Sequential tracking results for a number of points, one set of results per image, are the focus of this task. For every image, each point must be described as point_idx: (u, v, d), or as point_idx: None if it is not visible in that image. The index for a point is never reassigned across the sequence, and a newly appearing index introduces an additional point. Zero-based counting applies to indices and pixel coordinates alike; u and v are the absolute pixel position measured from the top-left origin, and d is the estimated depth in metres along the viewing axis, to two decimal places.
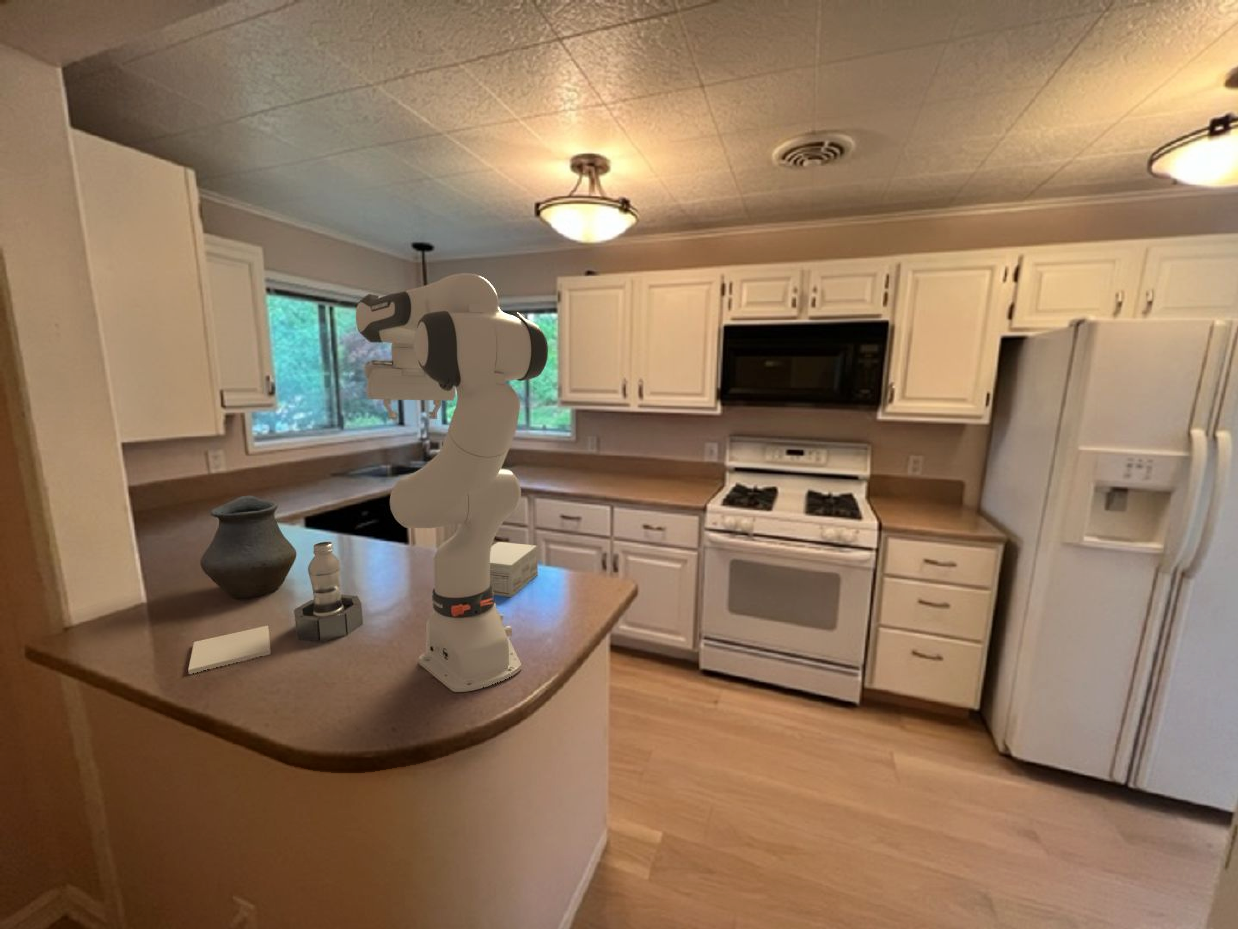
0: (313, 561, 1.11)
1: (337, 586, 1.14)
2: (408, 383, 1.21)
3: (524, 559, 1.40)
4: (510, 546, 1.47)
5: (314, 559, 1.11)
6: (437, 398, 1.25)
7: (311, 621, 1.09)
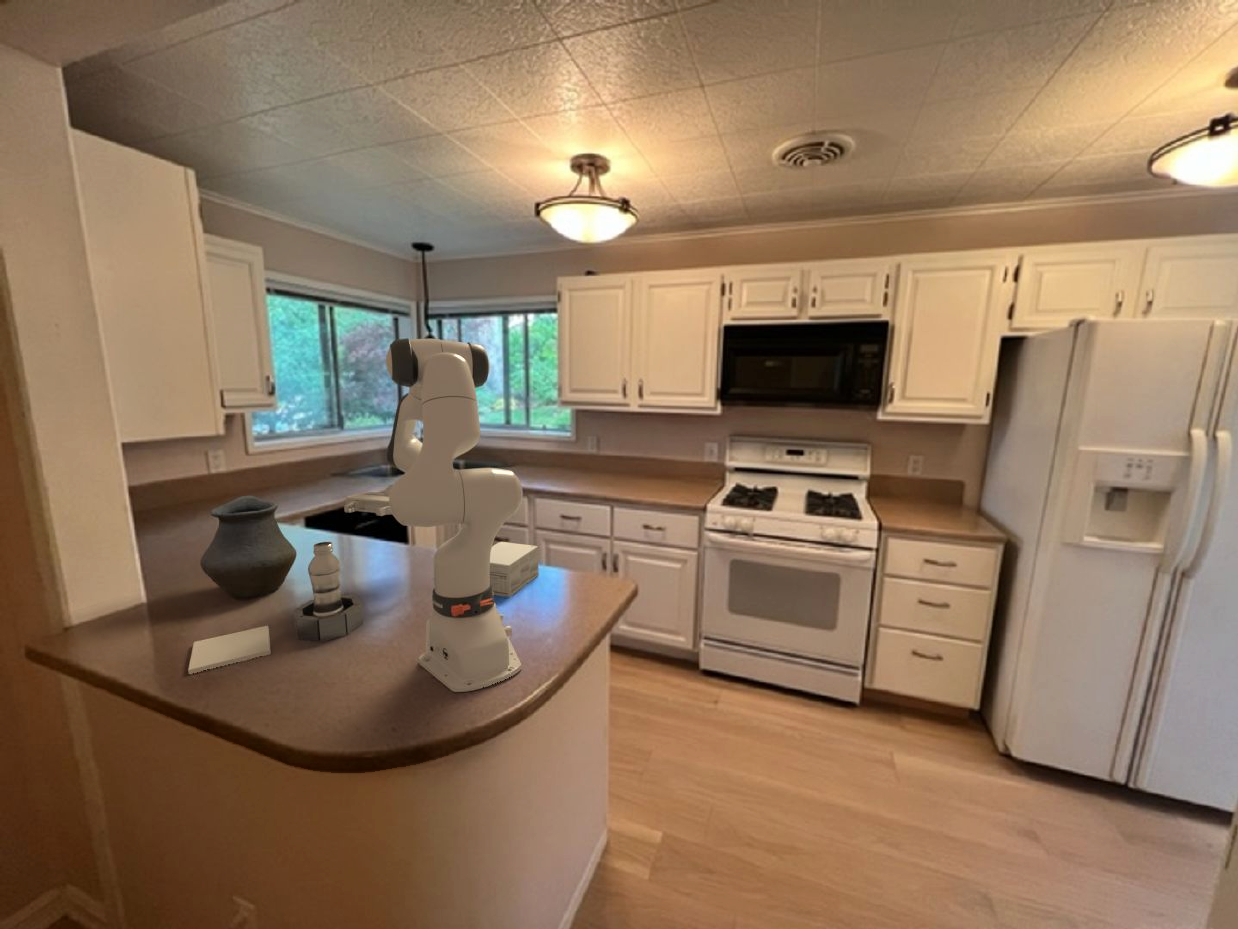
0: (313, 561, 1.11)
1: (337, 586, 1.14)
2: (382, 497, 1.32)
3: (524, 560, 1.40)
4: (511, 546, 1.47)
5: (314, 559, 1.11)
6: None
7: (311, 621, 1.09)
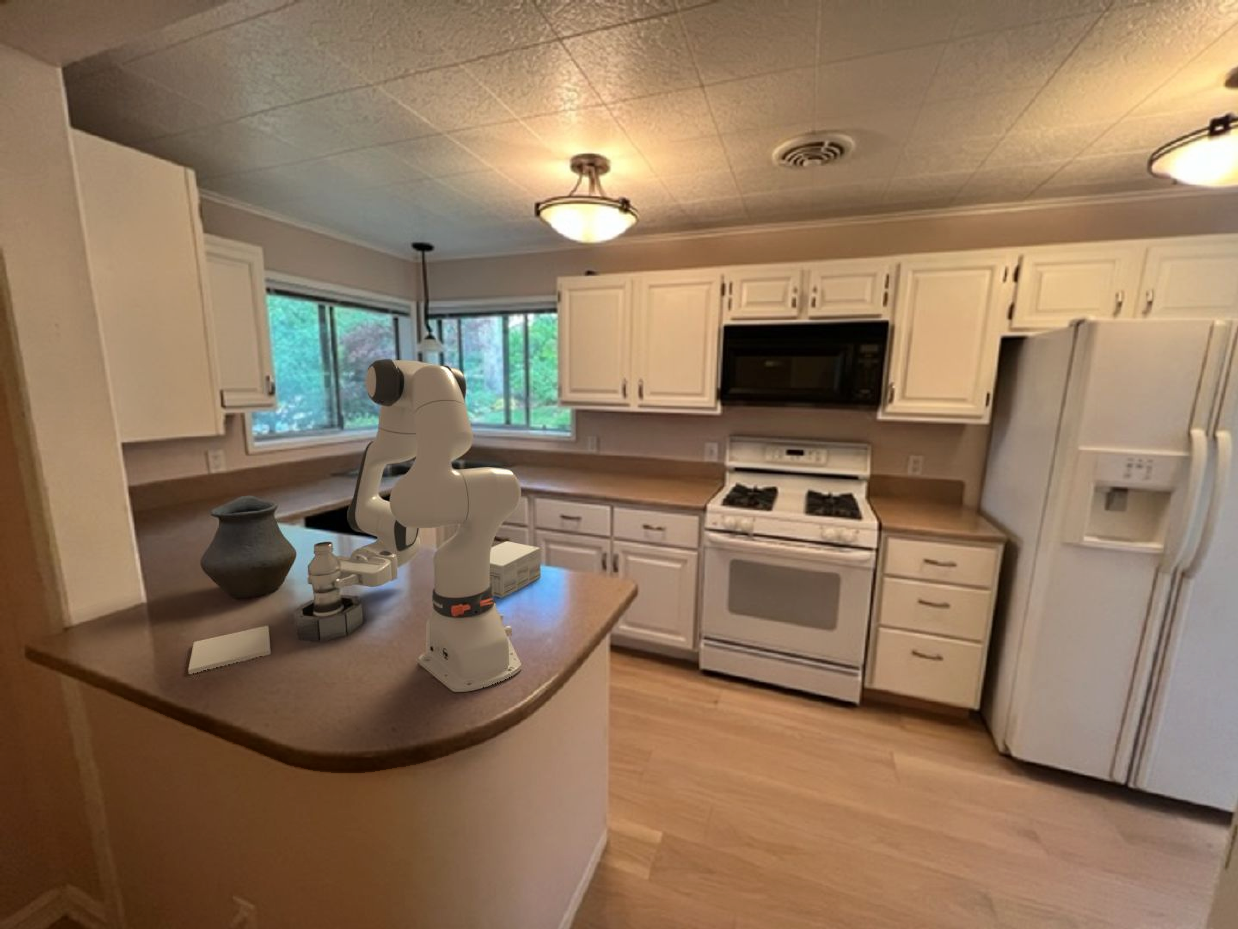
0: (313, 561, 1.11)
1: None
2: (348, 563, 1.22)
3: (522, 561, 1.39)
4: (514, 546, 1.47)
5: (314, 559, 1.11)
6: (359, 570, 1.16)
7: (311, 621, 1.09)
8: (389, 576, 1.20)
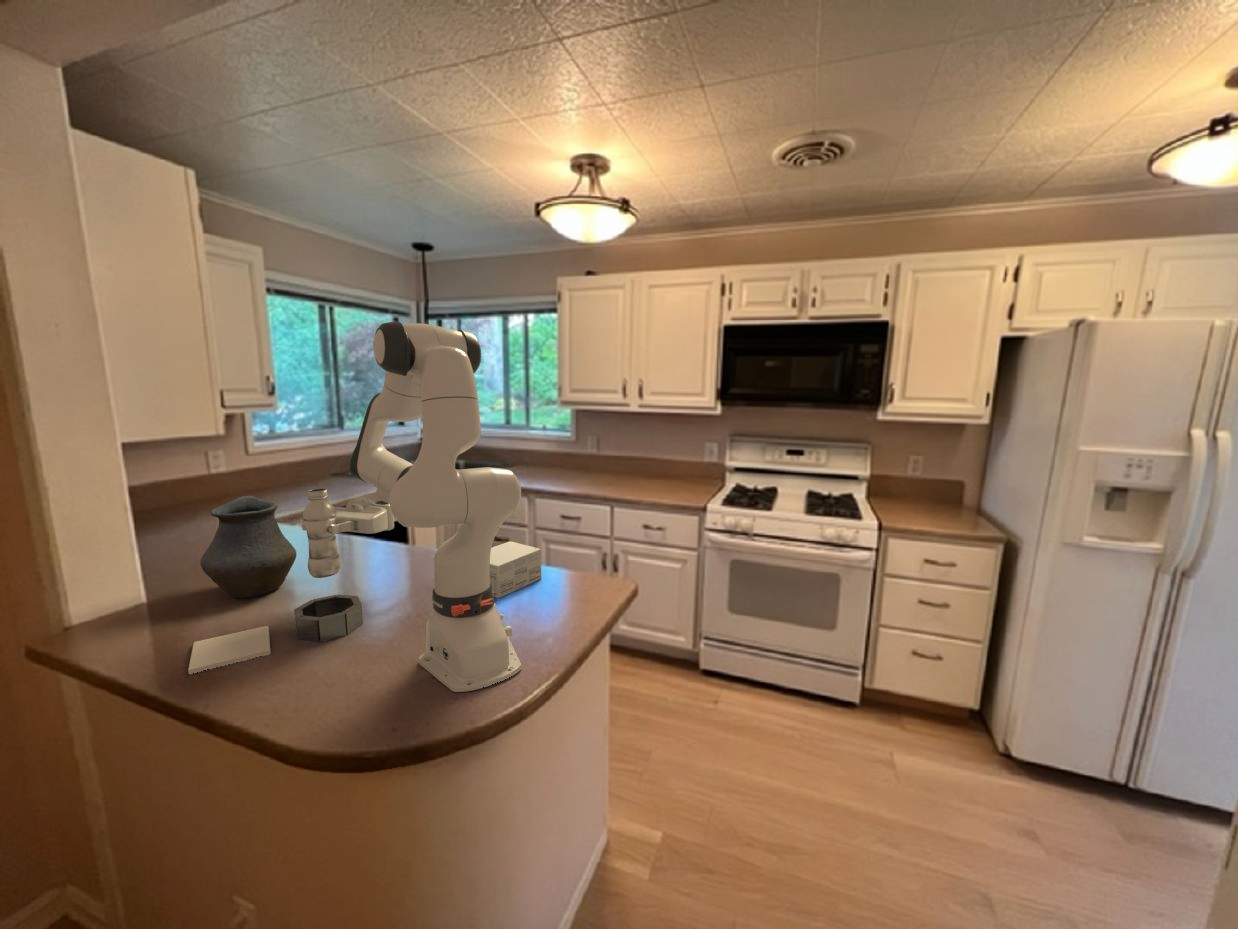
0: (308, 507, 1.09)
1: None
2: (343, 512, 1.20)
3: (520, 562, 1.38)
4: (516, 546, 1.47)
5: (309, 505, 1.09)
6: (354, 517, 1.14)
7: (311, 621, 1.09)
8: (385, 524, 1.18)
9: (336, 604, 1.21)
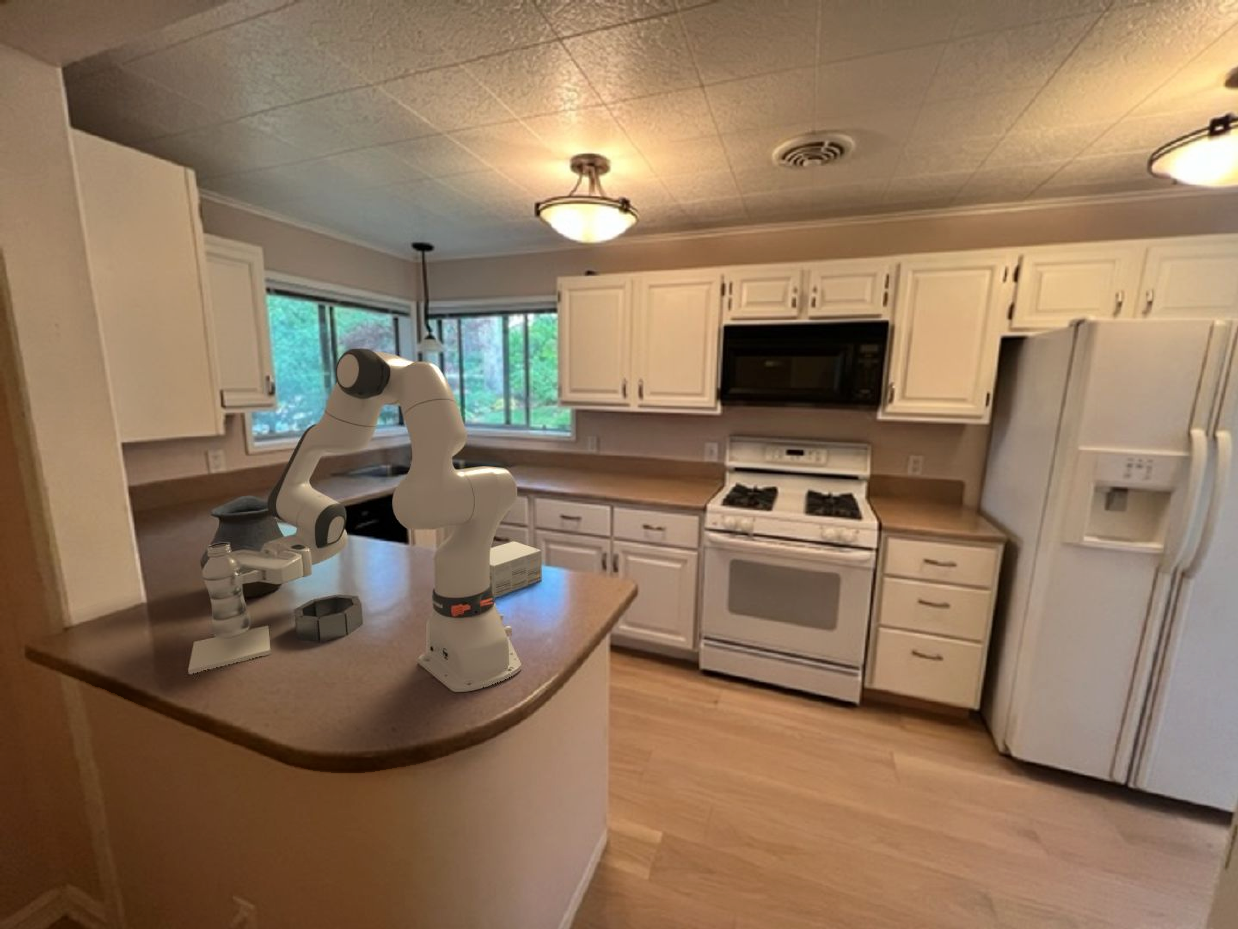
0: (207, 564, 1.00)
1: (239, 590, 1.04)
2: (255, 558, 1.11)
3: (518, 562, 1.38)
4: (517, 546, 1.46)
5: (209, 562, 1.00)
6: (262, 566, 1.05)
7: (311, 621, 1.09)
8: (299, 572, 1.09)
9: (336, 604, 1.21)
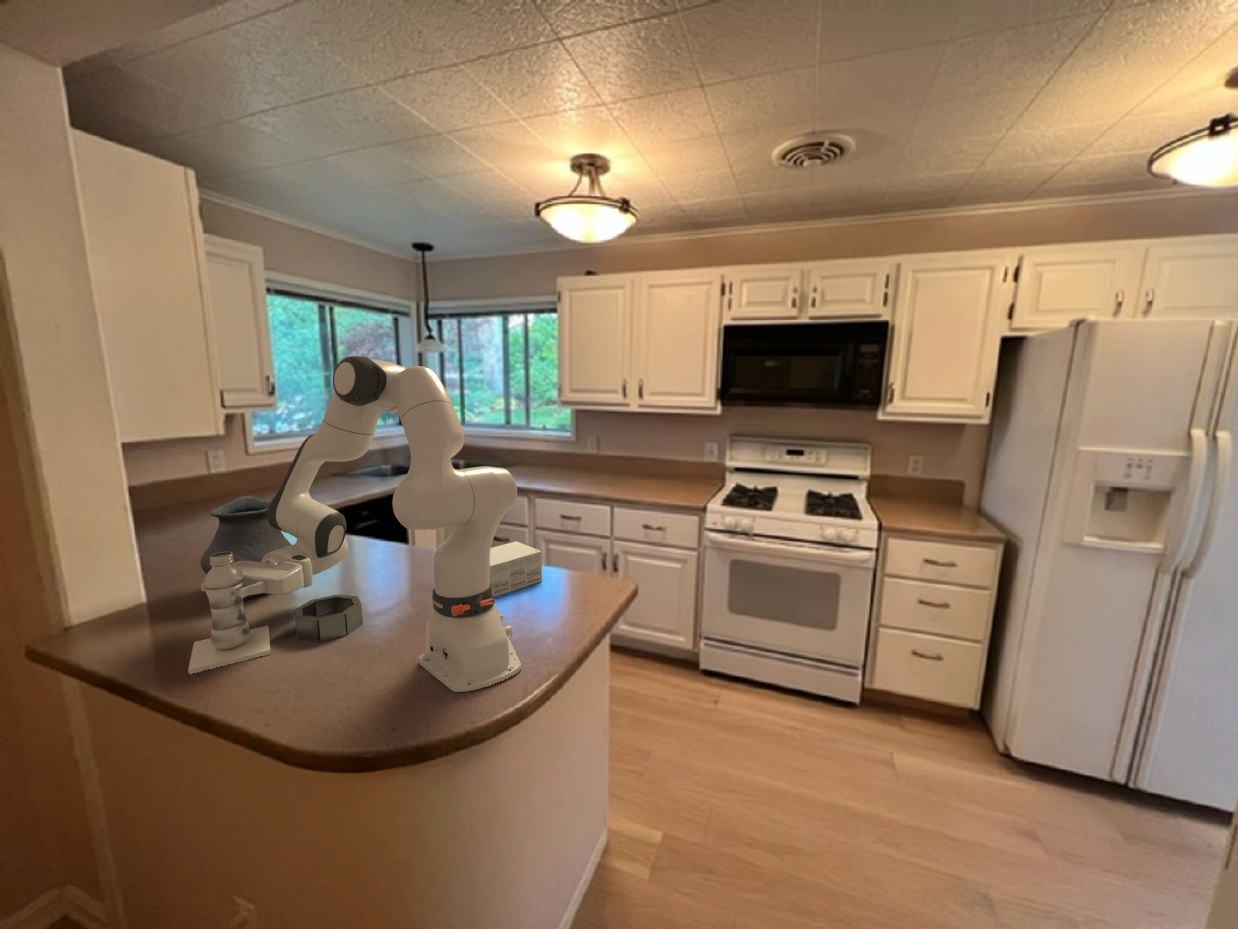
0: (209, 574, 1.01)
1: (239, 600, 1.04)
2: (255, 568, 1.11)
3: (516, 563, 1.38)
4: (518, 547, 1.46)
5: (211, 571, 1.01)
6: (263, 577, 1.06)
7: (311, 621, 1.09)
8: (300, 583, 1.09)
9: (336, 604, 1.21)
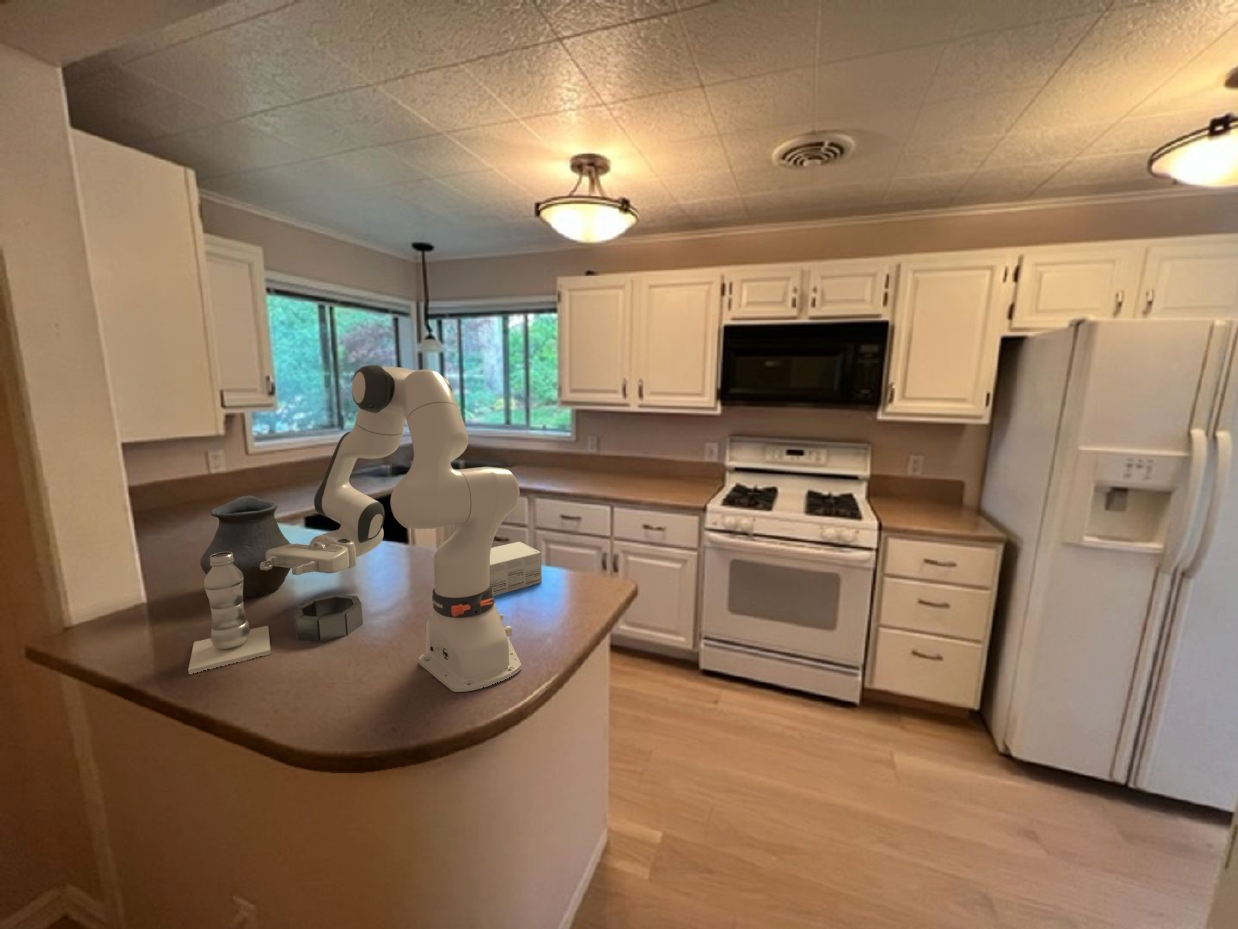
0: (209, 574, 1.01)
1: (239, 600, 1.04)
2: (305, 550, 1.23)
3: (514, 563, 1.37)
4: (519, 547, 1.46)
5: (211, 571, 1.01)
6: (315, 557, 1.18)
7: (311, 621, 1.09)
8: (346, 563, 1.22)
9: (336, 604, 1.21)
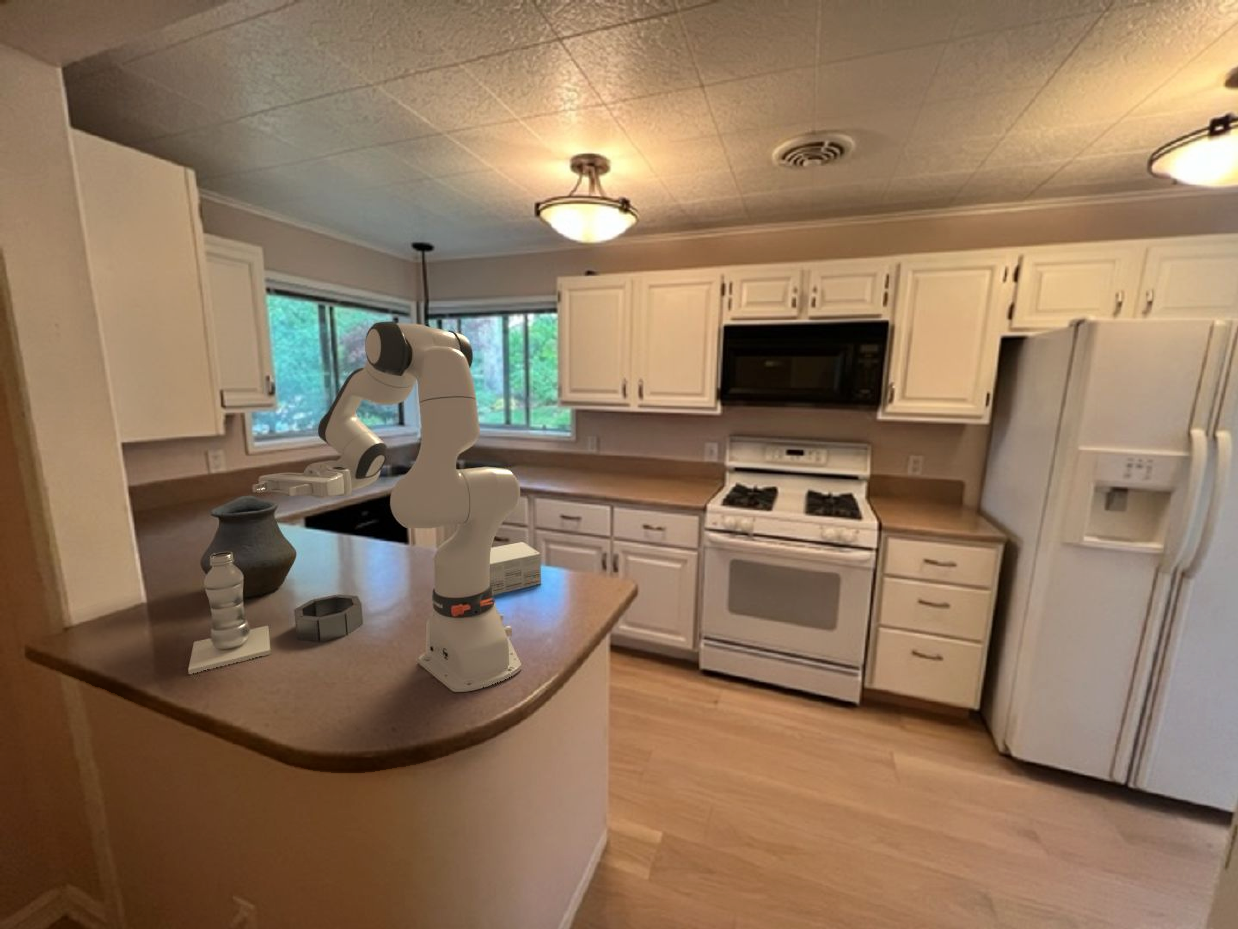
0: (209, 574, 1.01)
1: (239, 600, 1.04)
2: (300, 477, 1.20)
3: (512, 564, 1.37)
4: (521, 548, 1.46)
5: (211, 571, 1.01)
6: (309, 480, 1.15)
7: (311, 621, 1.09)
8: (341, 489, 1.19)
9: (336, 604, 1.21)
